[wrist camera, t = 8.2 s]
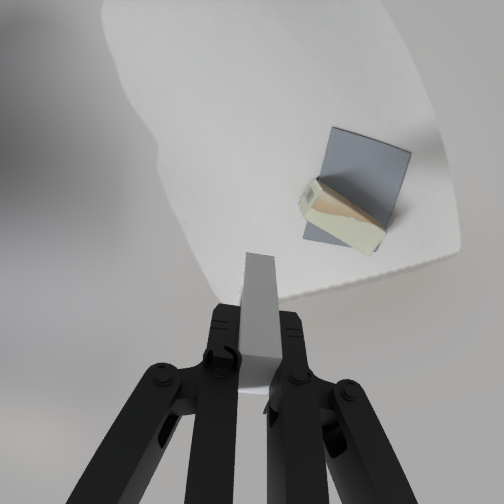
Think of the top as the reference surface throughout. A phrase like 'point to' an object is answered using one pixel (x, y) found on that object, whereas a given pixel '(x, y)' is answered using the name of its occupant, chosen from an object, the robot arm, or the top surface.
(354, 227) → the box
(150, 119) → the top surface
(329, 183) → the mat
